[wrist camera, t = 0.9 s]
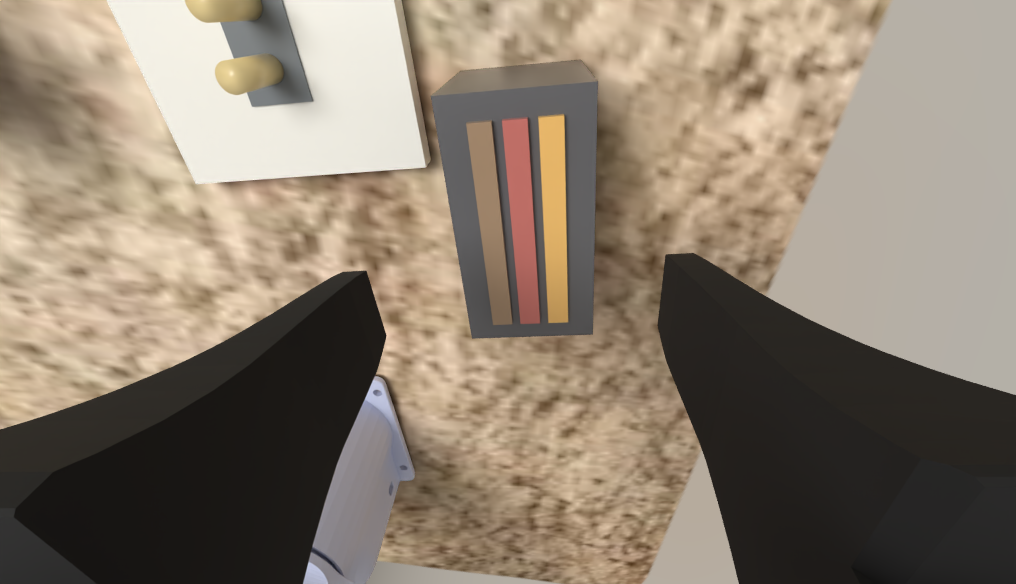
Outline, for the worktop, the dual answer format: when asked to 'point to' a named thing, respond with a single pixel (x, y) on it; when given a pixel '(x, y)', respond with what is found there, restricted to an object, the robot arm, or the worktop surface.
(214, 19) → the header board
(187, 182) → the worktop surface
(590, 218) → the block
